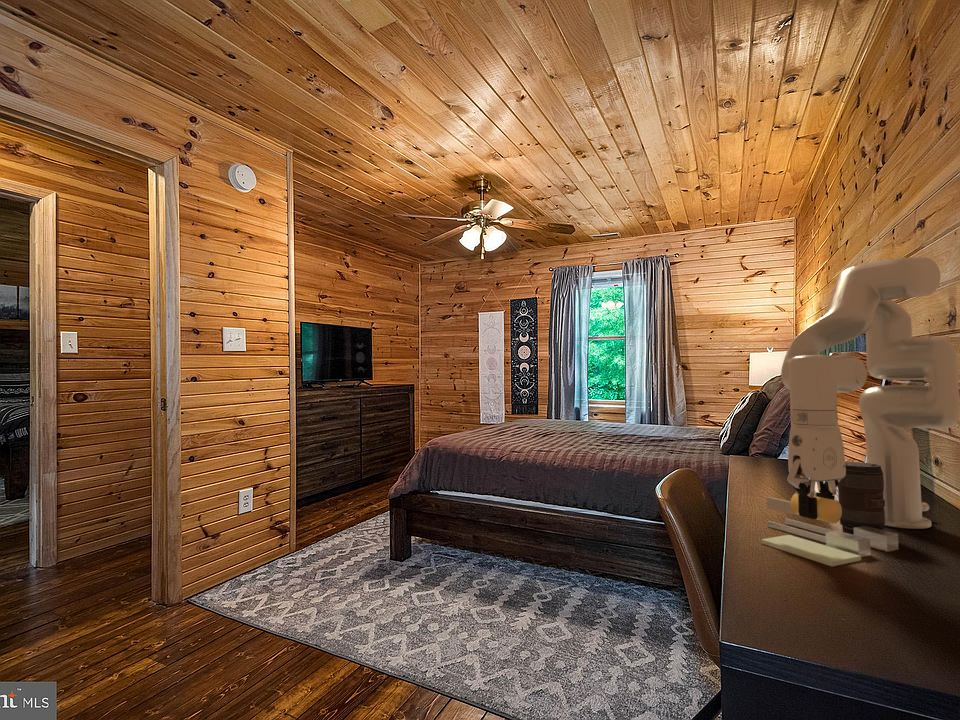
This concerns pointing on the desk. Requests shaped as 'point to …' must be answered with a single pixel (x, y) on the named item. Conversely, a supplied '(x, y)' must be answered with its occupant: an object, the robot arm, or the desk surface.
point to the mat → (811, 550)
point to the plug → (825, 507)
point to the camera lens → (862, 497)
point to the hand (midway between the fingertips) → (816, 515)
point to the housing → (844, 537)
